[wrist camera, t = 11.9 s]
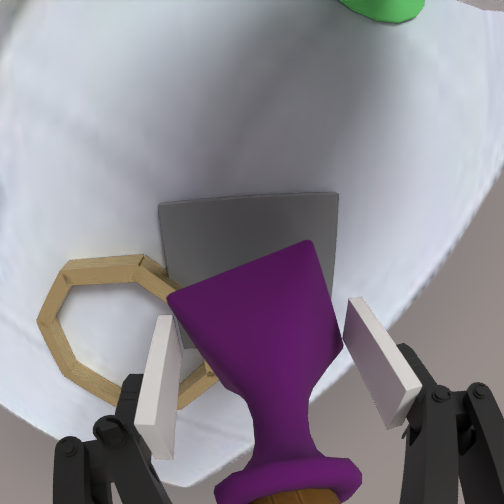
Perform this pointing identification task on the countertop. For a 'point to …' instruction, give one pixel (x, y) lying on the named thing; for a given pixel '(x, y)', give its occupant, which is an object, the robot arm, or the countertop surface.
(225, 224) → the slate coaster
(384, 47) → the countertop surface
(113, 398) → the wooden octagonal frame
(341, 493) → the perfume bottle
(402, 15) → the cup
